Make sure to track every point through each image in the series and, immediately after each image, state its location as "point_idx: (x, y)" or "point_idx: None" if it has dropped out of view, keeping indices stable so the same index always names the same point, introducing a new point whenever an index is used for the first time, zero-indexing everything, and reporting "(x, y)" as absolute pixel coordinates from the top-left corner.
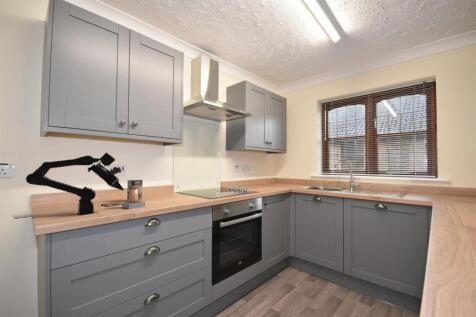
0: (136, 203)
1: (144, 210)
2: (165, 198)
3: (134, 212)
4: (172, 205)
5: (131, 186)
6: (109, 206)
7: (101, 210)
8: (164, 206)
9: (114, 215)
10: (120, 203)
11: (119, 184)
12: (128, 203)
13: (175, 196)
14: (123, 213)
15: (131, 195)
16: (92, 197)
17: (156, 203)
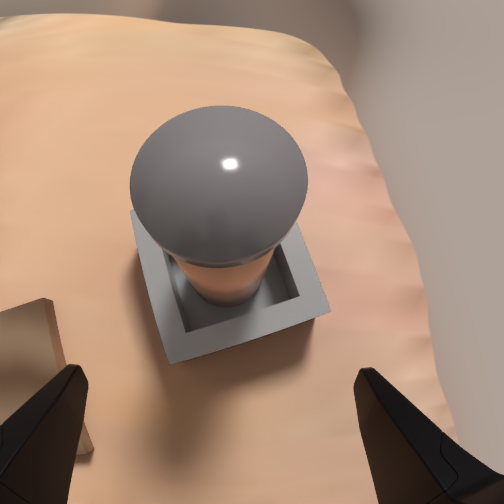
0: (305, 245)
1: (357, 217)
2: (6, 72)
3: (396, 288)
4: (263, 57)
5: (190, 208)
6: (83, 440)
7: (159, 497)
8: (271, 90)
9: (423, 411)
10: (14, 341)
11: (455, 455)
12: (282, 315)
13: (4, 43)
14: (393, 360)
15: (265, 264)
16: None
17: (113, 108)
